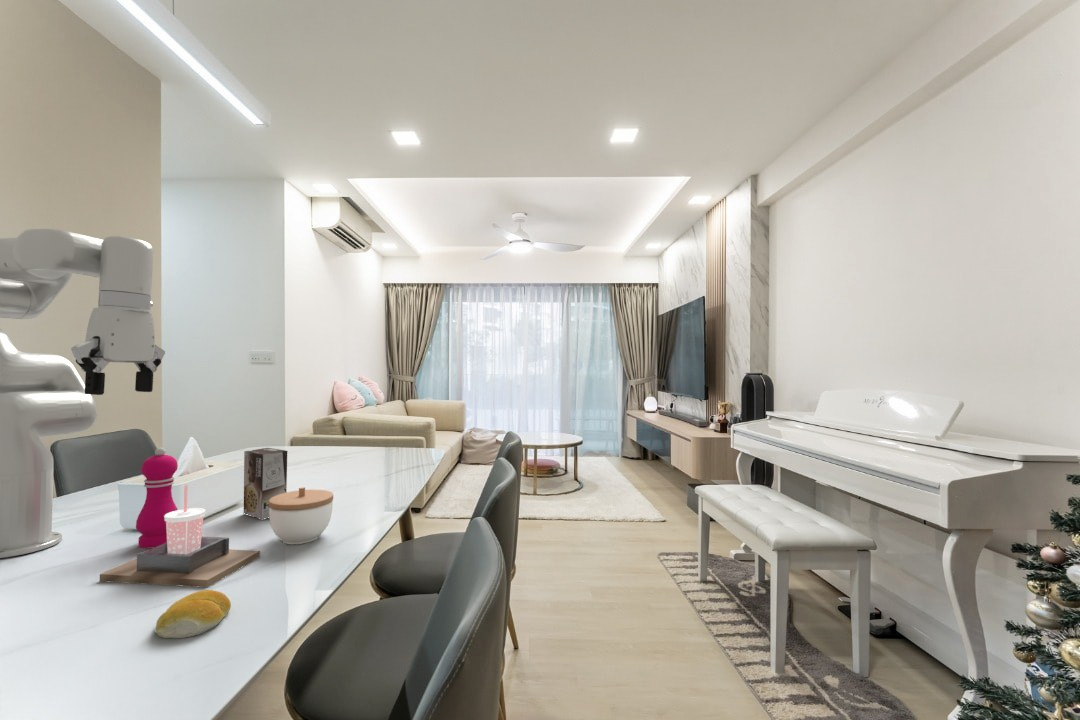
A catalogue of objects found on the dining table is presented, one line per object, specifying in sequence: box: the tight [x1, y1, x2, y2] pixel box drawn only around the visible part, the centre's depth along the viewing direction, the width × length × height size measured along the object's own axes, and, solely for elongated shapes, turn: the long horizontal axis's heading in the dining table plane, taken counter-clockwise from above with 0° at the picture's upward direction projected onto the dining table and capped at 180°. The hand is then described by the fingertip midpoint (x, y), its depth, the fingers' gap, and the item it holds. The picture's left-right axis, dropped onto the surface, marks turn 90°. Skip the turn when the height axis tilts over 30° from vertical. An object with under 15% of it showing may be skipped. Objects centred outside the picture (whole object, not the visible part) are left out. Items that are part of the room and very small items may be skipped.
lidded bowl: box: [268, 486, 334, 546], centre depth 103 cm, size 13×13×11 cm
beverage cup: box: [164, 484, 206, 554], centre depth 88 cm, size 6×6×14 cm
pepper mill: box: [135, 447, 179, 549], centre depth 100 cm, size 7×7×20 cm
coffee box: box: [243, 447, 288, 520], centre depth 120 cm, size 9×6×16 cm
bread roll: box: [154, 589, 232, 639], centre depth 69 cm, size 8×9×4 cm
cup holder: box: [98, 536, 261, 588], centre depth 87 cm, size 20×13×4 cm, turn 85°
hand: (120, 392), depth 90 cm, fingers open, 9 cm apart
